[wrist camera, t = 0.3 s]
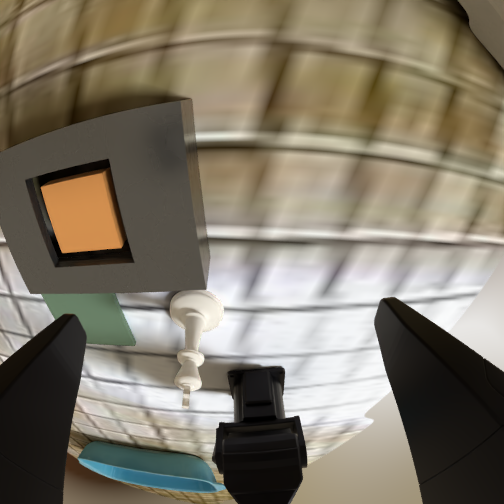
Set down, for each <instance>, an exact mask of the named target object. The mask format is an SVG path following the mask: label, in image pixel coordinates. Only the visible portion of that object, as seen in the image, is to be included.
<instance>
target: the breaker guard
mask: <svg viewBox="0 0 504 504" xmlns="http://www.w3.org/2000/svg"><path fill="white" fill-rule="evenodd" d="M104 159H109V161H110V166H111V171H112V176H113V181H114V186H115V190H116V195H117V199H118V203H119V208H120V212H121V216H122V220H123V223H124V227H125V231H126V235H127V238H128V242H129V246H130V249H131V252H123V253H110V254H97V255H84V256H72V257H60V258H58V257H57V254H56V252H55V249H54V247H53V244H52V241H51V239H50V236H49V233H48V230H47V227H46V224H45V221H44V218H43V215H42V212H41V209H40V206H39V202H38V199H37V195H36V192H35V188H34V185H33V181H32V177H36V176H39V175H43V174H46V173H50V172H54V171H57V170H61V169H65V168H69V167H73V166H77V165H81V164H86V163H90V162H95V161H99V160H104ZM0 226H1V229H2V231H3V234H4V237H5V239H6V242H7V244H8V247H9V249H10V252H11V254H12V256H13V259H14V261H15V263H16V265H17V267H18V270H19V272H20V274H21V276H22V278H23V280H24V282H25V284H26V286H27V288H28V290H29V292H30V294H97V293H138V292H165V291H188V290H206V289H207V281H208V272H209V264H210V251H209V244H208V237H207V230H206V222H205V215H204V207H203V199H202V191H201V183H200V174H199V165H198V156H197V147H196V137H195V126H194V116H193V104H192V99H187V100H179V101H173V102H166V103H160V104H155V105H149V106H144V107H139V108H134V109H129V110H125V111H120V112H116V113H112V114H108V115H104V116H100V117H96V118H93V119H89V120H85V121H82V122H79V123H75V124H72V125H69V126H66V127H63V128H60V129H57V130H54V131H51V132H48V133H45V134H43V135H40V136H37V137H35V138H32V139H29V140H27V141H24V142H22V143H20V144H17V145H15V146H13V147H10V148H8V149H6V150H4V151H2V152H0Z"/></svg>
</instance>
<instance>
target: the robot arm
mask: <svg viewBox="0 0 504 504" xmlns="http://www.w3.org/2000/svg"><path fill="white" fill-rule="evenodd" d="M374 325H375V330H376V334H377V338H378V341H379V345H380V349H381V354H382V358H383V362H384V366H385V370H386V373H387V376H388V379H389V382H390V385H391V388H392V391H393V394H394V397H395V400H396V403H397V405H398V409H399V412H400V416H401V419H402V422H403V425H404V429H405V432H406V435H407V439H408V443H409V446H410V450H411V454H412V458H413V462H414V466H415V469H416V474H417V477H418V482H419V484H420V485H419V487H420V492H421V497H422V501H423V504H504V372H503V371H502V370H500V369H499V368H497V367H496V366H495V365H493V364H492V363H490V362H489V361H488V360H486V359H483V357H482V356H481V355H479V354H478V353H476V352H475V351H474V350H472V349H470V348H469V347H468V346H467V345H465V344H464V343H462V342H461V341H459V340H458V339H456V338H455V337H453V336H452V335H451V334H449V333H448V332H446V331H445V330H443V329H442V328H441V327H439V326H438V325H436V324H435V323H433V322H432V321H430V320H429V319H427V318H426V317H424V316H423V315H421V314H420V313H418V312H417V311H415V310H414V309H412V308H411V307H409V306H408V305H406V304H405V303H403V302H402V301H400V300H398V299H397V298H395V297H389V298H383V299H381V301H380V303H379V306H378V310H377V313H376V316H375V320H374ZM86 342H87V335H86V332H85V330H84V328H83V326H82V324H81V322H80V320H79V318H78V317H77V316H76V315H75V314H68V313H66V314H63V315H62V316H60V317H59V318H58V319H56V320H55V321H54V322H52V323H51V324H50V325H49V326H47V327H46V328H45V329H43V330H42V331H41V332H40V333H38V334H37V335H36V336H35V337H33V338H32V339H31V340H30V341H28V342H27V343H26V344H25V345H24V346H22V347H21V348H20V349H19V350H17V351H16V352H15V353H14V354H13V355H11V356H10V357H9V358H8V359H7V360H6V361H4V362H3V363H2V364H1V365H0V504H63V488H64V476H65V466H66V457H67V450H68V443H69V436H70V430H71V424H72V419H73V413H74V408H75V403H76V398H77V394H78V389H79V385H80V379H81V373H82V366H83V360H84V354H85V348H86ZM284 379H285V369H284V368H271V369H258V370H242V371H230V372H228V380H229V385H230V389H231V394H232V399H233V400H234V423H224V422H219V428H217V429H216V443H215V447H214V452H213V456H212V461H213V462H214V463H215V464H216V465H217V468H218V471H219V473H220V474H223V477H224V486H225V487H226V489H227V490H228V492H229V493H230V494H231V495H232V497H233V498H234V499H235V501H236V502H237V503H238V504H290V503H291V501H292V499H293V498H294V496H295V494H296V492H297V490H298V488H299V486H300V484H301V482H302V480H303V476H302V468H306V467H307V452H306V445H305V440H304V436H303V431H302V427H301V422H300V418H299V416H294V417H290V418H285V411H284V404H283V397H282V396H283V392H284Z"/></svg>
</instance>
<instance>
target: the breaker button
mask: <svg viewBox="0 0 504 504" xmlns="http://www.w3.org/2000/svg"><path fill="white" fill-rule="evenodd" d="M41 190H42V194H43V197H44V201H45V204H46V207H47V211H48V214H49V217H50V220H51V223H52V226H53V229H54V232H55V235H56V238H57V240H58V243H59V246H60V248H61V251H62V253H69V252H80V251H92V250H103V249H115V248H122V246H123V244H124V243H125V241H126V240H127V238H126V234H125V231H124V227H123V223H122V219H121V215H120V211H119V207H118V203H117V199H116V194H115V190H114V185H113V181H112V176H111V171H110V168H105V169H100V170H95V171H90V172H86V173H81V174H76V175H72V176H68V177H64V178H60V179H55V180H52V181H49V182H47V183H46V184H44V185H43V186H41Z"/></svg>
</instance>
